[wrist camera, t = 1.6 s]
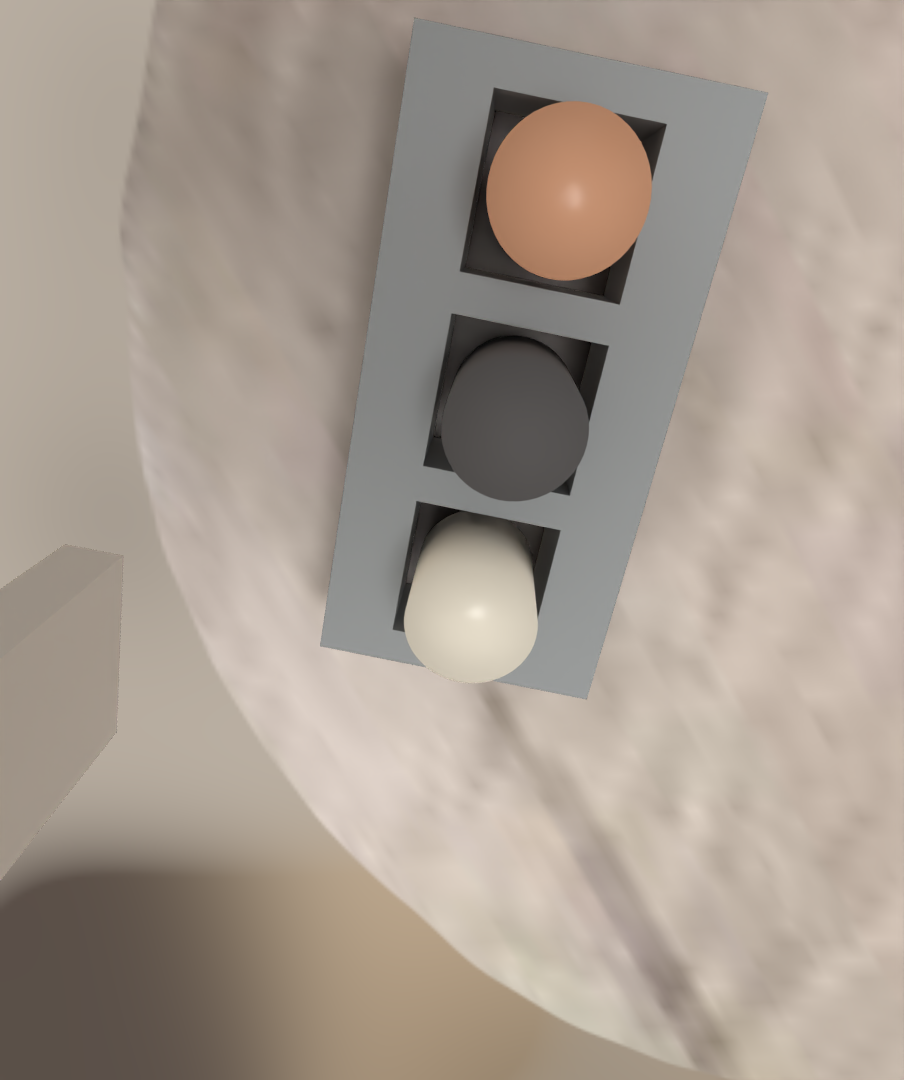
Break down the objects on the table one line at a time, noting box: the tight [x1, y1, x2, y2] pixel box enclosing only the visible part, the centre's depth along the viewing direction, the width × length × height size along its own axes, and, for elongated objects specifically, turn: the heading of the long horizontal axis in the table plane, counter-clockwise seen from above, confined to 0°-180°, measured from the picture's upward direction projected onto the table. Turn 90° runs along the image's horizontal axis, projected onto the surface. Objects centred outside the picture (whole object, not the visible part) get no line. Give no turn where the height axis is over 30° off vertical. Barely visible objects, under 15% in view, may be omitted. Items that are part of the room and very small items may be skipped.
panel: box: [320, 18, 768, 699], centre depth 33 cm, size 24×12×5 cm, turn 169°
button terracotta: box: [486, 101, 652, 280], centre depth 27 cm, size 5×5×6 cm
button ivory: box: [404, 511, 538, 683], centre depth 32 cm, size 5×5×6 cm
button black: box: [441, 336, 589, 501], centre depth 29 cm, size 5×5×6 cm
